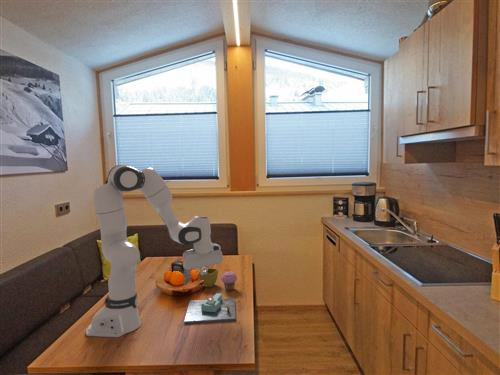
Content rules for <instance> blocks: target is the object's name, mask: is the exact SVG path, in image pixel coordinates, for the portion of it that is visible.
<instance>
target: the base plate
mask: <svg viewBox="0 0 500 375" xmlns="http://www.w3.org/2000/svg"><path fill="white" fill-rule="evenodd" d="M207 299H208V304H210V305H214V298H213V297H209V298H207ZM207 299H194V300H193V299H190V300H189V301H188V305H187V310H186V313H185V317H184V321H183V324H184V325H189V324H207V323H209V324H210V323H224V322H236V321H237V320H236V318H237V317H236V303H235V302H236V300H235V297H234V298H233V297H231V298H230V297H228V298H222V300H221V301H220V303H221V306H220V307H219V309H218V310H217V311H216V312H206V311H201V305H202V304H203V303H204V302H205V301H206V300H207Z"/></svg>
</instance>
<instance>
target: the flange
mask: <svg viewBox="0 0 500 375" xmlns="http://www.w3.org/2000/svg"><path fill="white" fill-rule="evenodd" d="M212 298H214V305H210V304H208V298H207V299H205V300H206V301H205V302H204V303H203V304H202V305H201V311H206V312H216V311H217V310H218V309H219V307H220V306H221V303H220V301H221V300H222V299H223V293H219V292H216V293H215V294H214V295H213V296H212Z"/></svg>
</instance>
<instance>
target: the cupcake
mask: <svg viewBox="0 0 500 375" xmlns="http://www.w3.org/2000/svg"><path fill="white" fill-rule="evenodd" d="M220 280H221V281H222V282H223V285H224V286H223V287H224V289H225V291H227V292H228V291H234V290H235V283H236V282H237V280H238V276H237V274H236V273H235V272H233V271H225V272H224V273H223V274H222V275H221V279H220Z"/></svg>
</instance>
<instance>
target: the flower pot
mask: <svg viewBox="0 0 500 375" xmlns="http://www.w3.org/2000/svg"><path fill="white" fill-rule="evenodd" d="M205 268H206V267H204V268H202V269H201V270H202V271H204V270H205ZM218 275H219V269H218V268H211V267H209V269H208V271H207V274H206V275H201V272H200V271H199V272H198V278H199V281H200V280H204V281H205V282H204V288H212V287H213V286H215V285H216V283H217V280H218Z"/></svg>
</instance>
